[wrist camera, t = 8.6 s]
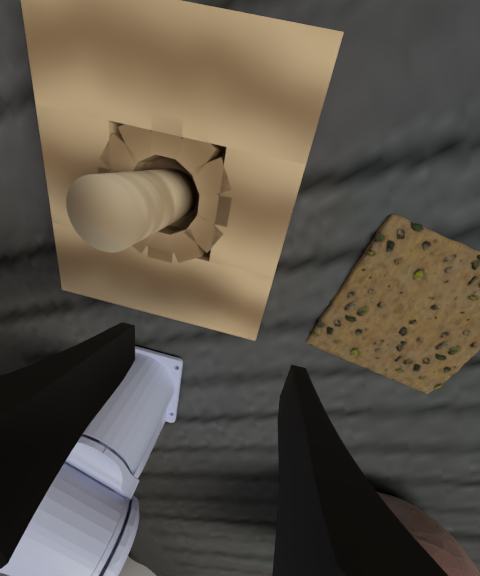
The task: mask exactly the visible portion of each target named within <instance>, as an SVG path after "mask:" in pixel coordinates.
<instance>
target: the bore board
mask: <svg viewBox="0 0 480 576" xmlns="http://www.w3.org/2000/svg"><path fill="white" fill-rule="evenodd" d="M21 5H22V12H23V19H24V26H25V33H26V40H27V48H28V55H29V62H30V69H31V76H32V83H33V90H34V97H35V104H36V111H37V118H38V125H39V132H40V139H41V146H42V153H43V160H44V167H45V174H46V181H47V188H48V195H49V202H50V209H51V216H52V223H53V230H54V237H55V244H56V251H57V258H58V265H59V272H60V279H61V286H62V290H65V291H69V292H72V293H76V294H80V295H84V296H88V297H91V298H95V299H99V300H103V301H107V302H110V303H114V304H118V305H122V306H125V307H129V308H133V309H137V310H141V311H144V312H148V313H152V314H156V315H160V316H163V317H167V318H171V319H175V320H179V321H182V322H186V323H190V324H194V325H198V326H201V327H205V328H209V329H213V330H217V331H220V332H224V333H228V334H232V335H235V336H239V337H243V338H247V339H251V340H254V341H256V337H257V334H258V330H259V327H260V323H261V320H262V316H263V313H264V309H265V306H266V302H267V299H268V295H269V292H270V288H271V285H272V281H273V278H274V274H275V271H276V267H277V264H278V260H279V257H280V253H281V250H282V246H283V243H284V239H285V236H286V232H287V229H288V225H289V222H290V218H291V215H292V211H293V208H294V204H295V201H296V197H297V194H298V190H299V187H300V183H301V180H302V176H303V173H304V169H305V166H306V162H307V159H308V155H309V152H310V148H311V145H312V141H313V138H314V134H315V131H316V127H317V124H318V120H319V117H320V113H321V110H322V106H323V103H324V100H325V96H326V93H327V89H328V86H329V82H330V79H331V75H332V72H333V68H334V65H335V61H336V58H337V54H338V51H339V47H340V44H341V40H342V37H343V33H344V32H341V31H335V30H330V29H325V28H320V27H315V26H310V25H305V24H299V23H294V22H289V21H284V20H279V19H274V18H268V17H263V16H258V15H253V14H248V13H243V12H238V11H232V10H227V9H222V8H217V7H212V6H207V5H201V4H196V3H191V2H186V1H181V0H21ZM171 168H173V169H179V170H181V171H183V172H185V173H186V174H187V175H188V176H189V177H190V178H191V179H192V181H193V182H194V184H195V187H196V190H197V202H196V205H195V207H194V209H193V210H192V212H191V213H189V214H188V215H186V216H185V217H183V218H181V219H179V220H177V221H175V222H174V223H172V224H170V225H168V226H166V227H165V228H163V229H161V230H159V231H157V232H156V233H154V234H152V235H150V236H148V237H147V238H145V239H143V240H141V241H139V242H137V243H136V244H134V245H132V246H130V247H128V248H127V249H125V250H123V251H120V252H114V253H110V252H104V251H101V250H98V249H96V248H94V247H92V246H91V245H89V244H88V243H86V242H85V241H84V240H83V239H82V238H81V237H80V236H79V235H78V233H77V232H76V231H75V229H74V228H73V226H72V224H71V222H70V219H69V217H68V213H67V208H66V198H67V193H68V190H69V188H70V186H71V185H72V183H73V182H74V181H75V180H76V179H78V178H79V177H82V176H84V175H90V174H103V173H117V172H130V171H144V170H157V169H171Z"/></svg>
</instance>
